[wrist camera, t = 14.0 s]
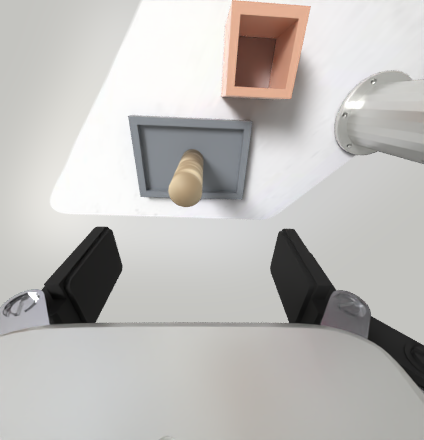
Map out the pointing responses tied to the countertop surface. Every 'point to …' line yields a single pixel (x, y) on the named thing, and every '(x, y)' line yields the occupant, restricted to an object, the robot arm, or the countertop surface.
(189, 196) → the dowel
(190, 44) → the countertop surface
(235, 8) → the deep cup
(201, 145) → the tray
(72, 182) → the countertop surface
